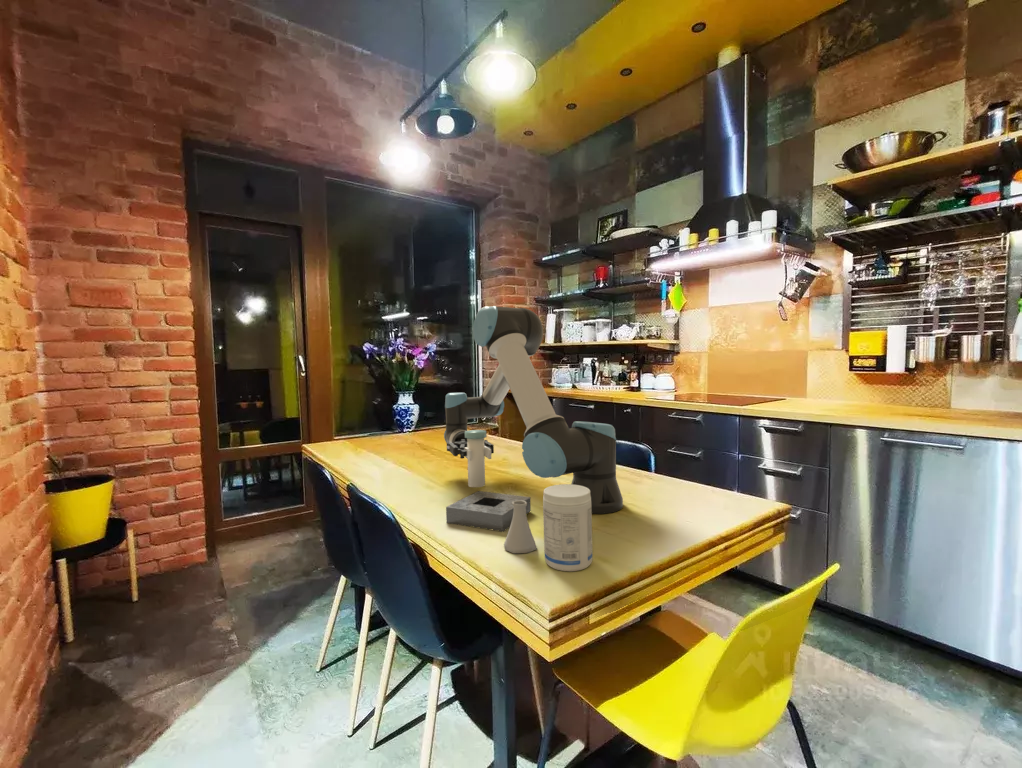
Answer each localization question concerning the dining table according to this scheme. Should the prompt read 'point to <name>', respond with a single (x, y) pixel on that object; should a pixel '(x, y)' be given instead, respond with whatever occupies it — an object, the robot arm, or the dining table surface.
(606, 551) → the dining table surface
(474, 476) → the teal-capped white peg
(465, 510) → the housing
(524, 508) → the flask
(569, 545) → the supplement tub
